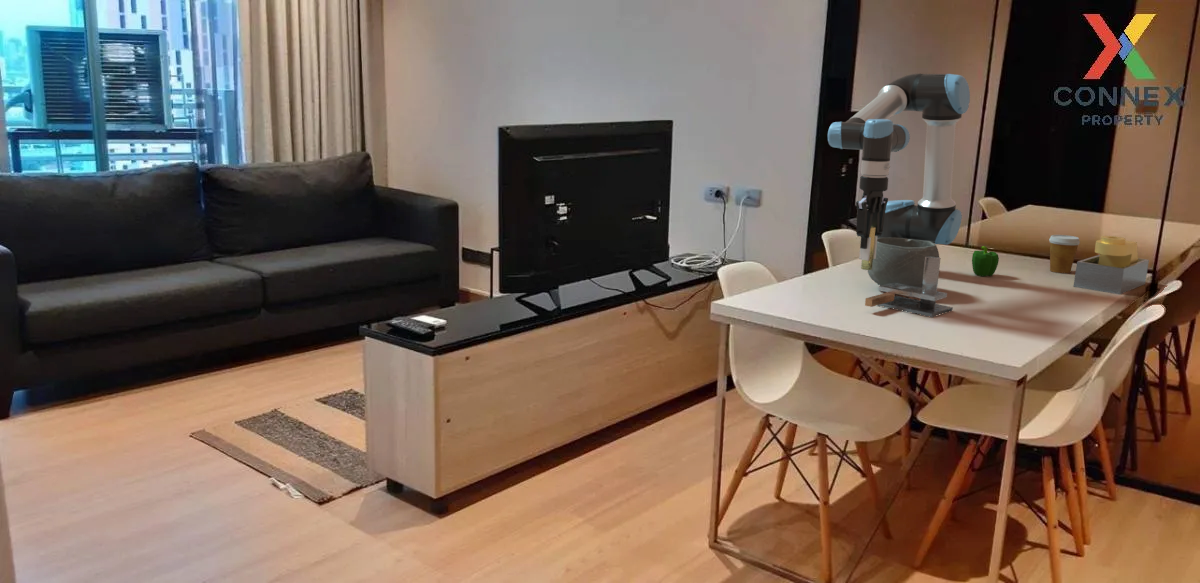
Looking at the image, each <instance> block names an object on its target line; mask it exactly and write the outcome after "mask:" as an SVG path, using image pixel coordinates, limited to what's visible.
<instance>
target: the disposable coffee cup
mask: <svg viewBox="0 0 1200 583" xmlns="http://www.w3.org/2000/svg"><path fill="white" fill-rule="evenodd" d="M1048 240H1049V271H1050V272H1052V273H1055V274H1057V273H1058V274H1070V273H1071V271H1072V267H1073V264H1074V260H1075V256H1076V255H1077V254H1076V253H1077V251H1078V247H1079V245H1080V243H1081V241H1080V238H1079V237H1078V236H1073V235H1066V234H1053V235H1050V237H1049V239H1048Z"/></svg>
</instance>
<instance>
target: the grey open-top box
mask: <svg viewBox="0 0 1200 583" xmlns="http://www.w3.org/2000/svg"><path fill="white" fill-rule="evenodd" d="M1099 256H1100V254H1098V255H1094V256H1091V257H1088V258H1085V259H1081V260H1078V261H1077V262H1076V266H1075V273H1074V274H1075V275H1074V279H1073V280H1074V282H1073V287H1074V288H1081V289H1087V290H1091V291H1098V292H1105V293H1110V294H1114V295H1115V294H1116V295H1122V294H1124V292H1125V293H1127V292H1129V291H1132V290H1134V289H1136V288H1138V287H1141V286H1144V285H1146V281H1147V275H1148V269H1149V268H1148V267H1149V262H1150V259H1145V258H1139V257H1138V262H1137V263H1134V264H1131V265H1128V266H1126V267H1123V268H1119V267H1112V266H1106V265H1099V264H1098V263H1099ZM1131 289H1132V290H1131ZM1128 290H1129V291H1128ZM1126 291H1127V292H1126Z"/></svg>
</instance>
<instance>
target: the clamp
mask: <svg viewBox="0 0 1200 583" xmlns="http://www.w3.org/2000/svg"><path fill="white" fill-rule="evenodd" d="M1094 253H1096V254H1098V255H1100V256H1099V263H1098V264H1099V265H1106V266H1112V267H1119V268H1123V267H1126V266H1128V265H1131V264H1134V263H1137V262H1138V258H1139V254H1138V253H1139V251H1138V242H1137V241H1131V240H1127V239H1126V237H1121V236H1116V235H1115V236H1114V235H1101V236H1100V239H1097V240H1096V241H1095V246H1094Z"/></svg>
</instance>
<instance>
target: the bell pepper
mask: <svg viewBox="0 0 1200 583" xmlns="http://www.w3.org/2000/svg"><path fill="white" fill-rule="evenodd" d="M980 249H981V250H974V251H973V253H972V257H971V265H972V271H973V274H974V275H976V276H979V277H992V276H993V275H994V274H995V273H996V270H997V269H998V268H997V267H998V265H999V260H1000V257H999V254H998V253H997V252H996V251H988V247H987V246H984V245H983V246H981V247H980Z"/></svg>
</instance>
